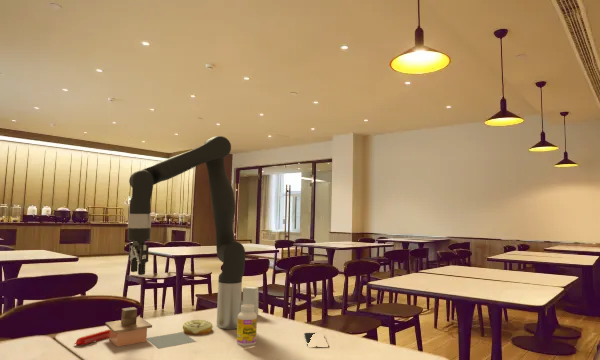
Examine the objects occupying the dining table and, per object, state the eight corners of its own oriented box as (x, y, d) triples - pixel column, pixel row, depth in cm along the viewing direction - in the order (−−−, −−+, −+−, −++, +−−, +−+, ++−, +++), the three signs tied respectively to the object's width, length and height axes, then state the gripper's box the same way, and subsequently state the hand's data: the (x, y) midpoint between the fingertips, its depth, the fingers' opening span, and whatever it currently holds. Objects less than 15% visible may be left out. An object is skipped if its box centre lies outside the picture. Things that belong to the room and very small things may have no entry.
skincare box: (258, 314, 176) (259, 286, 177) (255, 317, 172) (256, 288, 173) (245, 313, 177) (246, 285, 178) (241, 316, 173) (242, 287, 174)
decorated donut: (196, 338, 141) (196, 327, 142) (176, 333, 147) (177, 322, 148) (217, 331, 150) (218, 321, 150) (198, 326, 156) (198, 316, 156)
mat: (181, 333, 146) (181, 332, 146) (196, 342, 136) (196, 341, 136) (145, 339, 138) (145, 338, 138) (158, 349, 128) (158, 348, 128)
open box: (137, 335, 143) (138, 320, 143) (146, 342, 135) (147, 327, 136) (109, 339, 137) (110, 325, 137) (116, 347, 129) (117, 331, 130)
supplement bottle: (240, 348, 132) (241, 308, 133) (233, 342, 138) (235, 304, 139) (259, 345, 135) (260, 306, 136) (252, 339, 141) (253, 302, 142)
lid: (141, 319, 145) (142, 303, 145) (152, 327, 136) (152, 310, 136) (105, 324, 137) (106, 307, 138) (114, 333, 128) (115, 314, 129)
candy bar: (114, 334, 144) (115, 325, 145) (121, 335, 143) (122, 327, 143) (72, 346, 130) (72, 337, 131) (79, 348, 129) (80, 339, 129)
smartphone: (307, 346, 134) (303, 332, 149) (307, 349, 134) (303, 335, 149) (329, 346, 134) (323, 332, 149) (329, 349, 134) (323, 335, 149)
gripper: (157, 227, 138) (155, 274, 136) (143, 225, 149) (142, 269, 147) (134, 227, 133) (132, 277, 132) (122, 226, 144) (120, 271, 143)
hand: (137, 273), depth 140 cm, fingers open, 8 cm apart
